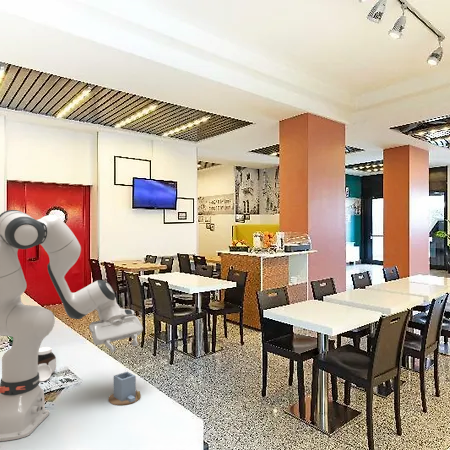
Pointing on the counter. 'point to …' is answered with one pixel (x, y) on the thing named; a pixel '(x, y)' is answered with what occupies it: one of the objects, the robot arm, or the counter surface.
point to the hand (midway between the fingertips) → (125, 348)
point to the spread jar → (46, 363)
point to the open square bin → (125, 386)
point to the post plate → (126, 402)
